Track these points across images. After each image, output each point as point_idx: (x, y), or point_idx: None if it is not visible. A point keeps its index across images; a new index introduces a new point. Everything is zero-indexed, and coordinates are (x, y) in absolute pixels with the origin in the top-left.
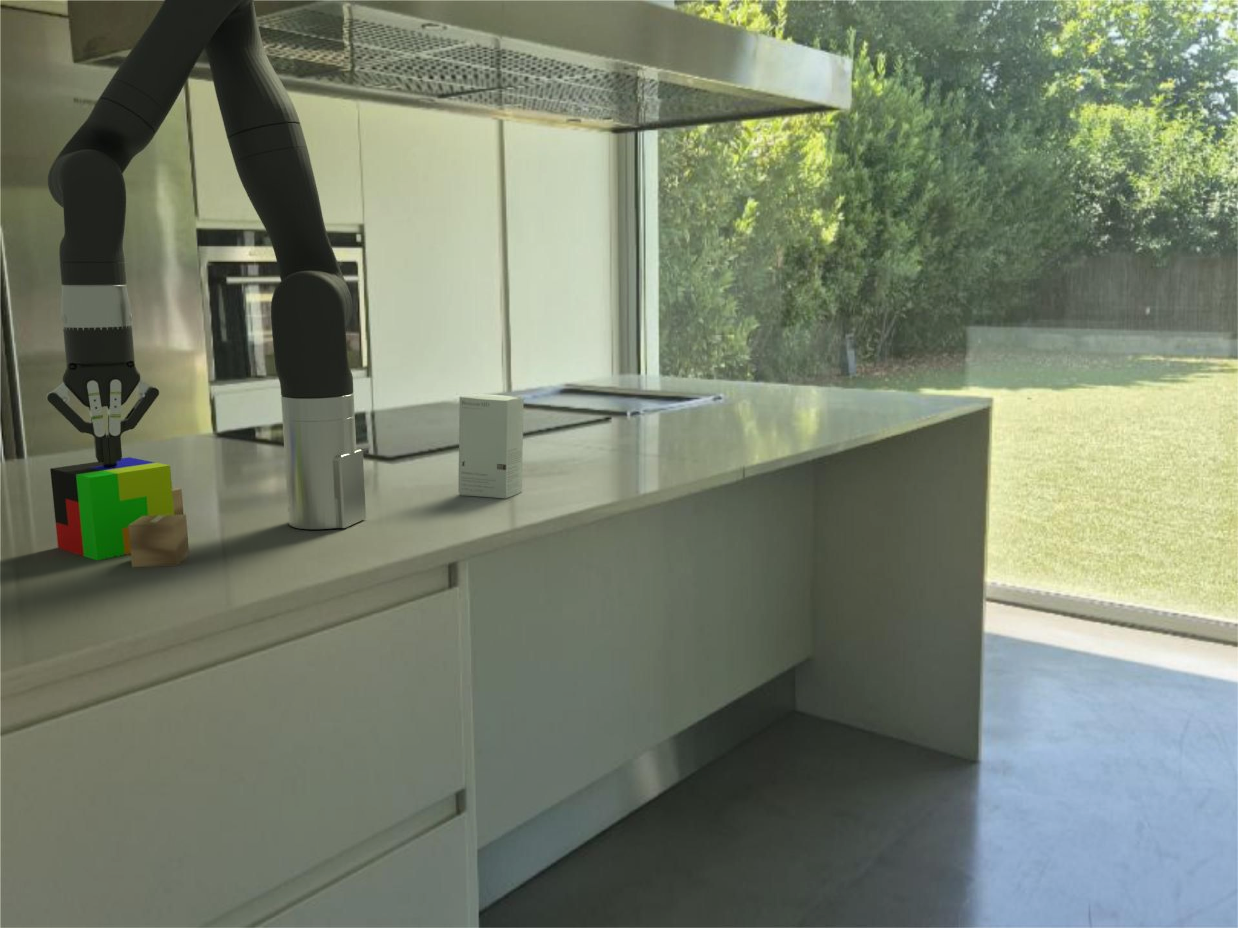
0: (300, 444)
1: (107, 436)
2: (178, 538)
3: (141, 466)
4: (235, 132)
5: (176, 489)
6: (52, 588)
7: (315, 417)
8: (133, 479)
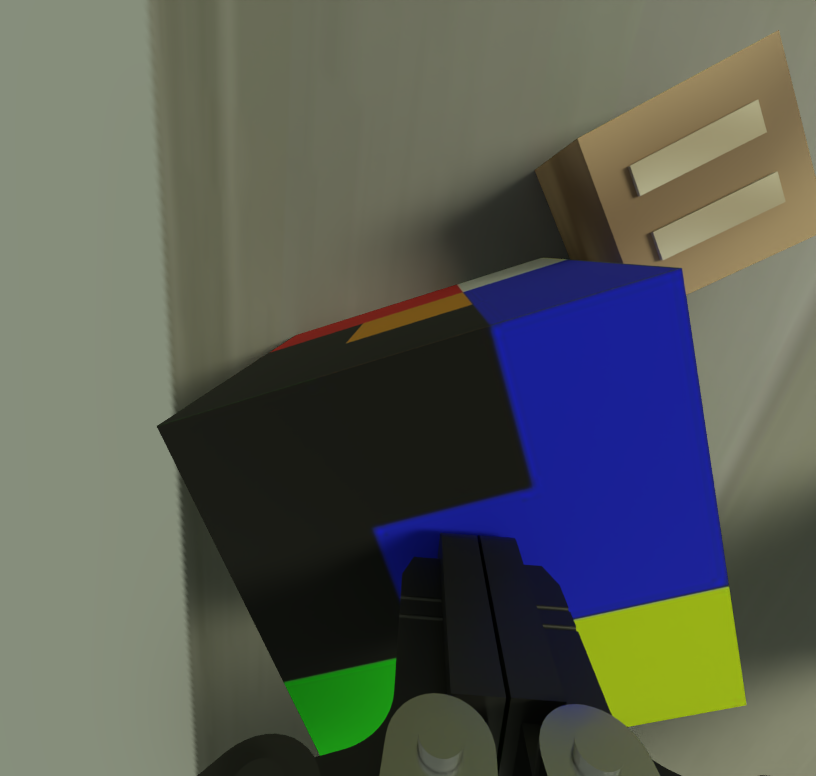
0: None
1: (500, 753)
2: None
3: (616, 652)
4: None
5: (803, 229)
6: (266, 704)
7: None
8: None
